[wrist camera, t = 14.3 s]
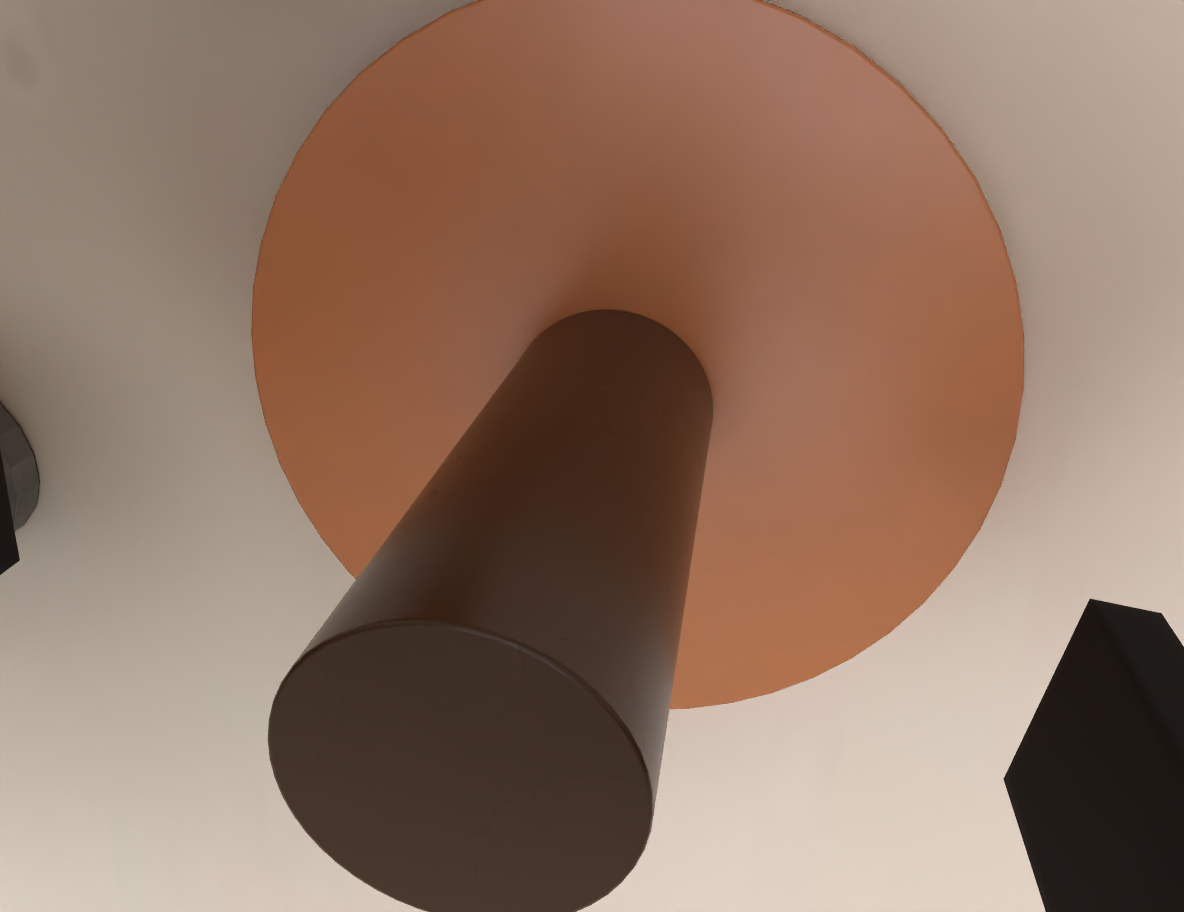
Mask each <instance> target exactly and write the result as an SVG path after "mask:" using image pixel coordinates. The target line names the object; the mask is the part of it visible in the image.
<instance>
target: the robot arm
mask: <svg viewBox="0 0 1184 912" xmlns="http://www.w3.org/2000/svg"><path fill="white" fill-rule="evenodd" d="M19 560H20V559H19V553H18V548H17V542H16V536H15V530H14V525H13V519H12V513H11V507H10V502H9V496H8V490H7V484H6V479H5V473H4V467H3V461H2V456H1V450H0V575H1V574H2V573H3V572H5V571H6V570H7V569H9V568H10V567H11V566H13V565H14V564H15V563H17V562H18V561H19ZM1004 782H1005V785H1006V788H1007V791H1008V794H1009V798H1010V801H1011V804H1012V807H1013V810H1014V813H1015V816H1016V819H1017V823H1018V826H1019V829H1020V832H1021V835H1022V838H1023V841H1024V845H1025V848H1026V851H1027V854H1028V857H1029V860H1030V863H1031V867H1032V870H1033V873H1034V876H1035V879H1036V882H1037V885H1038V888H1039V892H1040V895H1041V898H1042V901H1043V904H1044V907H1045V910H1046V912H1184V646H1183V645H1182V643H1181V642H1180V640H1179V639H1178V637H1177V636H1176V634H1175V633H1174V632H1173V630H1172V629H1171V627H1170V626H1169V624H1168V623H1167V621H1166V620H1165V618H1164V617H1163V615H1162V614H1161V613H1157V612H1152V611H1147V610H1142V609H1138V608H1133V607H1128V606H1123V605H1118V604H1113V603H1108V602H1104V601H1099V600H1094V599H1089V602H1088V604H1087V606H1086V608H1085V610H1084V612H1083V614H1082V616H1081V618H1080V620H1079V622H1078V625H1077V627H1076V629H1075V631H1074V633H1073V635H1072V637H1071V639H1070V641H1069V643H1068V645H1067V648H1066V650H1065V652H1064V654H1063V656H1062V658H1061V660H1060V662H1059V664H1058V666H1057V668H1056V671H1055V673H1054V675H1053V677H1052V679H1051V681H1050V683H1049V685H1048V687H1047V689H1046V691H1045V694H1044V696H1043V698H1042V700H1041V702H1040V704H1039V706H1038V708H1037V710H1036V712H1035V714H1034V717H1033V719H1032V721H1031V723H1030V725H1029V727H1028V729H1027V731H1026V733H1025V735H1024V737H1023V740H1022V742H1021V744H1020V746H1019V748H1018V750H1017V752H1016V754H1015V756H1014V758H1013V760H1012V763H1011V765H1010V767H1009V769H1008V771H1007V773H1006V775H1005V777H1004Z"/></svg>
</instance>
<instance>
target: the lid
mask: <svg viewBox="0 0 1184 912" xmlns="http://www.w3.org/2000/svg"><path fill="white" fill-rule="evenodd" d="M251 334H252V345H253V356H254V366H255V377H256V382H257V387H258V392H259V396H260V401H261V405H262V410H263V414H264V419H265V423H266V426H267V428H268V431H269V434H270V437H271V440H272V443H273V445H274V448H275V451H276V454H277V457H278V460H279V463H280V465H281V467H282V469H283V471H284V473H285V475H286V477H287V479H288V481H289V483H290V485H291V487H292V489H293V491H294V493H295V496H296V498H297V500H298V502H299V503H300V505H301V506H302V508H303V510H304V511H305V513H306V514H307V516H308V517H309V519H310V521H311V522H312V524H313V525H314V527H315V528H316V530H317V532H318V533H319V535H320V536H321V538H322V539H323V541H324V542H325V543H326V544H327V546H328V547H329V548H330V549H331V551H332V552H333V553H334V554H335V556H336V557H337V558H338V559H339V561H340V562H341V563H342V564H343V566H344V567H345V568H346V569H347V571H348V572H349V573H350V574H351V575H352V576H353V577H354V578H355V579H356V581H355V582H354V584H353V585H352V586H351V588H350V589H349V590H348V592H347V593H346V594H345V596H344V597H343V598H342V600H341V601H340V603H339V604H338V605H337V607H336V608H335V609H334V611H333V612H332V613H331V615H330V616H329V617H328V619H327V620H326V621H325V623H324V624H323V626H322V627H321V628H320V630H319V631H318V632H317V634H316V635H315V636H314V638H313V639H312V640H311V642H310V643H309V644H308V646H307V647H306V649H305V650H304V651H303V653H302V654H301V655H300V657H299V658H298V659H297V661H296V662H295V663H294V665H293V666H292V668H291V669H290V670H289V672H288V673H287V675H286V676H285V678H284V679H283V681H282V682H281V684H280V686H279V689H278V691H277V693H276V695H275V698H274V700H273V704H272V709H271V713H270V717H269V728H268V746H269V756H270V761H271V765H272V769H273V773H274V777H275V779H276V782H277V784H278V787H279V789H280V791H281V794H282V796H283V798H284V800H285V801H286V803H287V805H288V807H289V808H290V810H291V812H292V814H293V815H294V817H295V818H296V819H297V821H298V822H299V823H300V825H301V826H302V827H303V829H304V830H305V832H306V833H307V834H308V835H309V836H310V837H311V838H312V839H313V840H314V841H315V843H316V844H317V845H318V846H319V847H320V848H321V849H322V850H323V851H324V852H325V853H327V854H328V855H329V856H330V857H331V858H332V859H333V860H334V861H335V862H336V863H338V864H339V865H340V866H342V867H343V868H344V869H346V870H347V871H348V872H350V873H351V874H352V875H354V876H355V877H356V878H358V879H360V880H361V881H363V882H365V883H366V884H368V885H369V886H371V887H373V888H374V889H376V890H378V891H380V892H382V893H384V894H386V895H388V896H390V897H392V898H394V899H396V900H398V901H400V902H403V903H405V904H408V905H410V906H413V907H415V908H418V909H421V910H424V911H427V912H576V911H578V910H581V909H583V908H585V907H587V906H590V905H592V904H593V903H595V902H596V901H598V900H600V899H601V898H603V897H604V896H606V895H607V894H609V893H610V892H611V891H612V890H613V889H614V888H616V887H617V886H618V885H619V884H620V883H621V882H622V881H623V880H624V879H625V878H626V876H627V875H628V874H629V873H630V872H631V870H632V869H633V868H634V867H635V865H636V864H637V862H638V860H639V858H640V857H641V855H642V853H643V851H644V850H645V847H646V844H647V841H648V838H649V835H650V832H651V827H652V821H653V814H654V807H655V801H656V794H657V787H658V781H659V774H660V767H661V761H662V754H663V747H664V741H665V734H666V727H667V721H668V714H669V709H689V708H696V707H704V706H712V705H719V704H727V703H733V702H737V701H741V700H745V699H749V698H753V697H757V696H761V695H765V694H769V693H773V692H776V691H779V690H781V689H784V688H787V687H789V686H792V685H795V684H797V683H800V682H803V681H806V680H808V679H811V678H814V677H816V676H818V675H820V674H822V673H823V672H825V671H827V670H829V669H831V668H833V667H835V666H837V665H839V664H841V663H843V662H845V661H847V660H849V659H851V658H853V657H854V656H856V655H857V654H859V653H860V652H862V651H863V650H865V649H866V648H868V647H869V646H871V645H872V644H874V643H875V642H877V641H878V640H880V639H881V638H883V637H884V636H886V635H887V634H888V633H890V632H891V631H892V630H893V629H894V628H896V627H897V626H898V625H899V624H900V623H901V622H902V621H904V620H905V619H906V618H907V617H908V616H909V615H910V614H912V613H913V612H914V611H915V610H916V609H917V608H918V607H920V606H921V605H922V604H923V603H924V602H925V601H926V600H927V599H928V597H929V596H930V595H931V594H932V593H933V592H934V591H935V589H936V588H937V587H938V586H939V585H940V584H941V583H942V582H943V580H944V579H945V578H946V577H947V576H948V575H949V574H950V572H951V571H952V570H953V569H954V568H955V566H956V565H957V563H958V562H959V560H960V559H961V557H962V556H963V554H964V553H965V551H966V550H967V548H968V547H969V545H970V544H971V542H972V541H973V539H974V538H975V536H976V535H977V533H978V532H979V530H980V528H981V526H982V524H983V522H984V520H985V518H986V516H987V514H988V511H989V509H990V507H991V505H992V503H993V501H994V499H995V497H996V495H997V493H998V491H999V489H1000V486H1001V484H1002V481H1003V477H1004V474H1005V471H1006V468H1007V465H1008V461H1009V458H1010V455H1011V452H1012V449H1013V445H1014V442H1015V439H1016V433H1017V427H1018V420H1019V414H1020V408H1021V402H1022V395H1023V389H1024V333H1023V326H1022V319H1021V312H1020V305H1019V298H1018V291H1017V284H1016V280H1015V277H1014V274H1013V270H1012V267H1011V264H1010V261H1009V257H1008V254H1007V251H1006V247H1005V244H1004V241H1003V237H1002V234H1001V231H1000V228H999V226H998V224H997V222H996V220H995V218H994V216H993V214H992V212H991V209H990V207H989V205H988V203H987V201H986V199H985V197H984V195H983V193H982V191H981V188H980V186H979V184H978V182H977V180H976V178H975V177H974V175H973V174H972V172H971V171H970V169H969V168H968V166H967V165H966V163H965V162H964V160H963V159H962V157H961V156H960V154H959V153H958V151H957V150H956V149H955V147H954V146H953V144H952V143H951V141H950V140H949V138H948V137H947V135H946V134H945V132H944V131H943V129H942V128H941V127H940V126H939V125H938V124H937V123H936V122H935V121H934V120H933V119H932V117H931V116H930V115H929V114H928V113H927V112H926V111H925V110H924V109H923V108H922V107H921V106H920V104H919V103H918V102H917V101H916V100H915V99H914V98H913V97H912V96H911V95H910V94H909V93H908V91H907V90H906V89H905V88H904V87H903V86H902V85H901V84H900V83H898V82H897V81H896V80H895V79H893V78H892V77H891V76H890V75H888V74H887V73H886V72H885V71H883V70H882V69H881V68H880V67H878V66H877V65H876V64H875V63H873V62H872V61H871V60H870V59H868V58H867V57H866V56H865V55H863V54H862V53H861V52H860V51H858V50H857V49H856V48H855V47H853V46H852V45H850V44H848V43H846V42H845V41H843V40H841V39H840V38H838V37H836V36H834V35H833V34H831V33H829V32H828V31H826V30H824V29H822V28H821V27H819V26H817V25H816V24H814V23H812V22H810V21H809V20H807V19H805V18H804V17H802V16H800V15H797V14H795V13H792V12H790V11H787V10H785V9H782V8H780V7H777V6H775V5H772V4H770V3H767V2H765V1H762V0H478V1H476V2H473V3H470V4H468V5H465V6H463V7H460V8H457V9H455V10H452V11H450V12H448V13H447V14H445V15H443V16H441V17H440V18H438V19H436V20H435V21H433V22H431V23H429V24H428V25H426V26H424V27H422V28H421V29H419V30H417V31H415V32H414V33H412V34H410V35H408V36H407V37H405V38H403V39H402V40H401V41H399V42H398V43H397V44H396V45H394V46H393V47H392V48H391V49H389V50H388V51H387V52H386V53H384V54H383V55H382V56H381V57H379V58H378V59H377V60H375V61H374V62H373V63H372V64H370V65H369V66H368V67H367V68H365V69H364V70H363V71H362V72H361V73H360V74H359V75H358V76H357V77H356V78H355V79H354V80H353V81H352V82H351V83H350V84H349V86H348V87H347V88H346V89H345V90H344V91H343V92H342V93H341V94H340V95H339V96H338V97H337V98H336V100H335V101H334V102H333V103H332V104H331V105H330V106H329V107H328V108H327V109H326V111H325V112H324V113H323V115H322V116H321V118H320V119H319V121H318V122H317V124H316V125H315V127H314V128H313V130H312V131H311V132H310V134H309V135H308V137H307V138H306V140H305V141H304V143H303V144H302V146H301V147H300V148H299V150H298V151H297V154H296V156H295V158H294V160H293V162H292V164H291V166H290V168H289V170H288V172H287V174H286V176H285V178H284V180H283V182H282V184H281V186H280V188H279V190H278V192H277V194H276V197H275V200H274V203H273V206H272V210H271V213H270V216H269V219H268V222H267V225H266V228H265V231H264V234H263V238H262V241H261V246H260V251H259V257H258V263H257V269H256V274H255V280H254V286H253V306H252V333H251Z"/></svg>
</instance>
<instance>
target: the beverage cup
mask: <svg viewBox="0 0 1184 912" xmlns="http://www.w3.org/2000/svg"><path fill="white" fill-rule="evenodd" d="M0 450H1V456H2V461H3V467H4V473H5V479H6V484H7V490H8V496H9V502H10V507H11V513H12V519H13V525H14V530H15V531H16V530H17V529H19V528H20V527H22V526H23V525H25V523H26V521H27V520H28V518H29V517H30V515H31V514H32V512H33V510H34V509H35V507H36V503H37V496H38V489H39V478H38V473H37V468H36V464H35V459H34V454H33V452H32V450H31V448H30V446H29V444H28V443H27V441H26V439H25V437H24V435H23V433H22V431H21V429H20V427H19V425H18V424H17V423H16V422H15V421H14V419H13V418H12V417H11V416H10V415H9V413H8V412H7V411H6V410H5V409H4V407H3V406H2V405H1V404H0Z"/></svg>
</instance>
